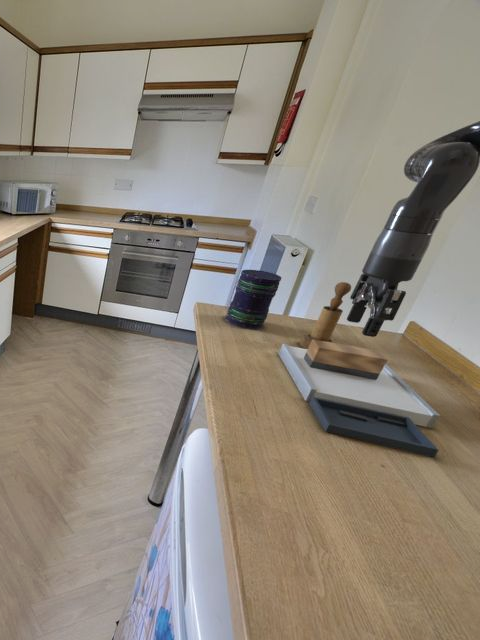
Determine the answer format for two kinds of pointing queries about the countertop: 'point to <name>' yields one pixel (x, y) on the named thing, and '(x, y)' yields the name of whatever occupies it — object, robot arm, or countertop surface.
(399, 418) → the tray
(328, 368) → the eraser
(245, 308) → the storage jar
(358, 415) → the smudge
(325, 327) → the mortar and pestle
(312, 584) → the countertop surface
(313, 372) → the board
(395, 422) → the smudge
